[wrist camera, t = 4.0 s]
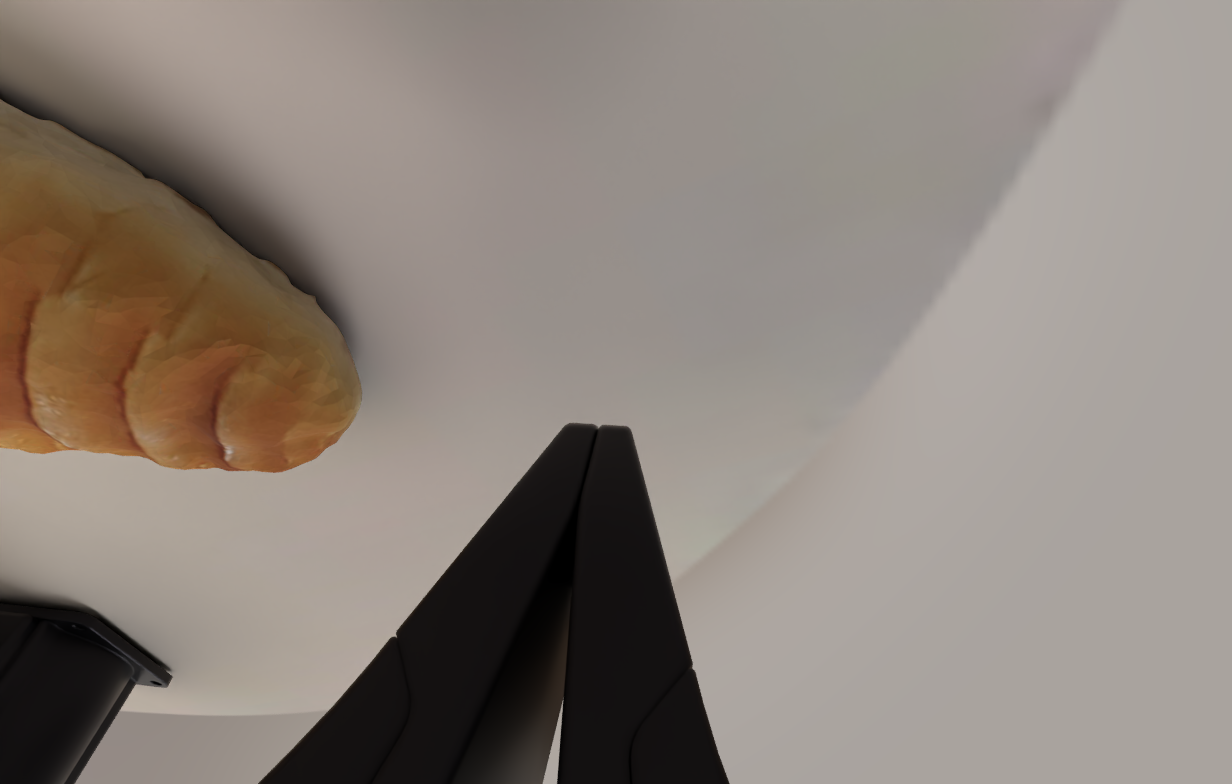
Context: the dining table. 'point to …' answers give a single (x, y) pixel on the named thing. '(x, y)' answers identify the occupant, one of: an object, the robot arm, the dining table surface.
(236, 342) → the pastry
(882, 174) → the dining table surface
